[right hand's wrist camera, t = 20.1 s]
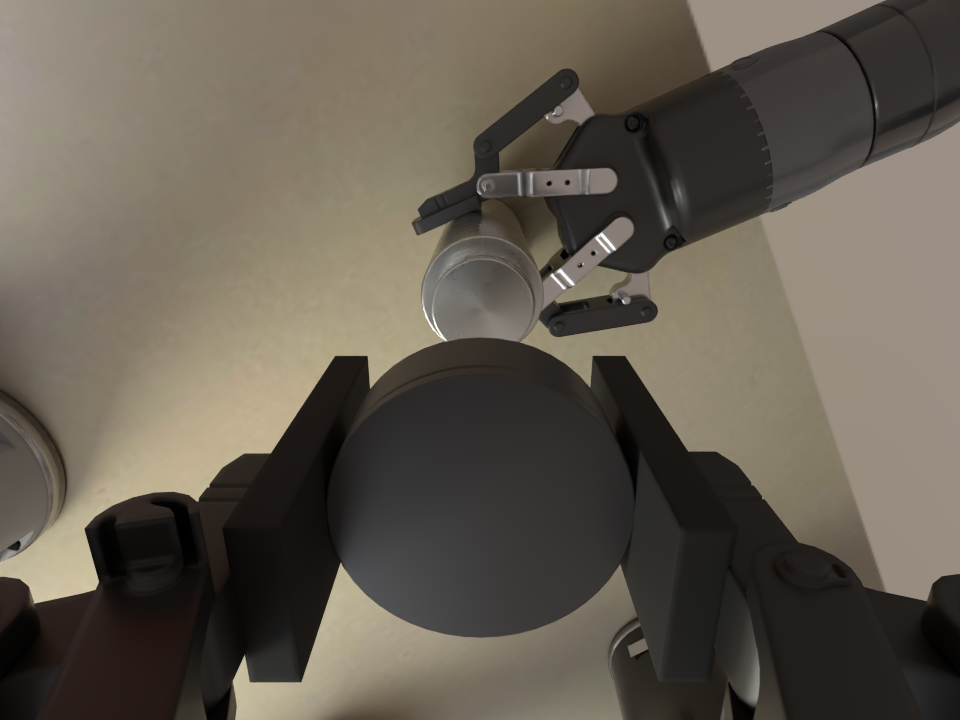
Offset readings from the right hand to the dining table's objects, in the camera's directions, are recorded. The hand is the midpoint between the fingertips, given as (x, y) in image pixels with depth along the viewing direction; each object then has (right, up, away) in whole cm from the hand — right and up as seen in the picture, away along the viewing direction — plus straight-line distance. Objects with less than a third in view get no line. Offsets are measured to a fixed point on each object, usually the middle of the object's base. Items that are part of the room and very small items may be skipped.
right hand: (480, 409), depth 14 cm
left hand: (-2, +6, +18) cm, 19 cm away
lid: (0, -1, -4) cm, 4 cm away
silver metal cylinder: (0, +9, +24) cm, 26 cm away
